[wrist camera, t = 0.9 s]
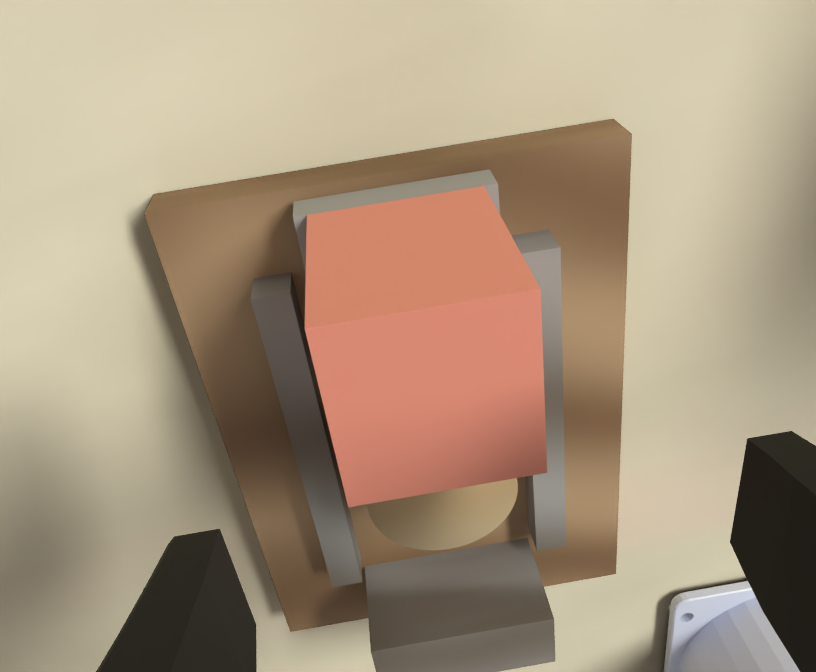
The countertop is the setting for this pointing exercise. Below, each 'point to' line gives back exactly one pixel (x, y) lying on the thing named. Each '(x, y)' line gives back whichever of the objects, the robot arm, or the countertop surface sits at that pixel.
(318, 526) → the cracker bench
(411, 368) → the block
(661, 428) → the countertop surface
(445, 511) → the cylinder
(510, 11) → the countertop surface
